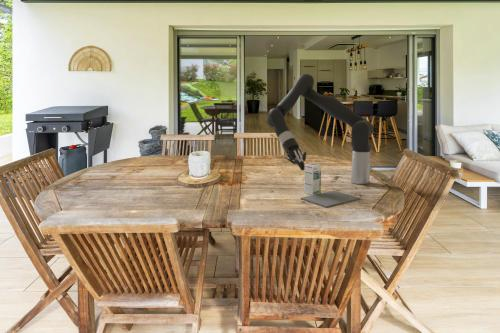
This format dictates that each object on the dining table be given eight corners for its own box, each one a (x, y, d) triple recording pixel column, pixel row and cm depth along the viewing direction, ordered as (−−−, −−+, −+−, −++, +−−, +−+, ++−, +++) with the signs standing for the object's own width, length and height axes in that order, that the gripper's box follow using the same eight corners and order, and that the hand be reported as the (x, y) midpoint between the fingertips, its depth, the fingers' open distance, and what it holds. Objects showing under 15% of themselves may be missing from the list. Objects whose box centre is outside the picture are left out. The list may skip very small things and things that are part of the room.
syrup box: (312, 195, 182) (313, 165, 179) (303, 193, 186) (304, 164, 183) (320, 193, 185) (321, 164, 182) (312, 191, 190) (312, 162, 187)
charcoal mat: (334, 191, 189) (334, 190, 188) (360, 199, 176) (360, 197, 176) (300, 199, 176) (300, 197, 176) (326, 207, 163) (326, 206, 163)
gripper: (294, 145, 202) (310, 172, 194) (274, 147, 194) (290, 175, 187) (301, 136, 196) (317, 163, 189) (281, 138, 189) (297, 167, 182)
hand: (304, 169), depth 188 cm, fingers closed
